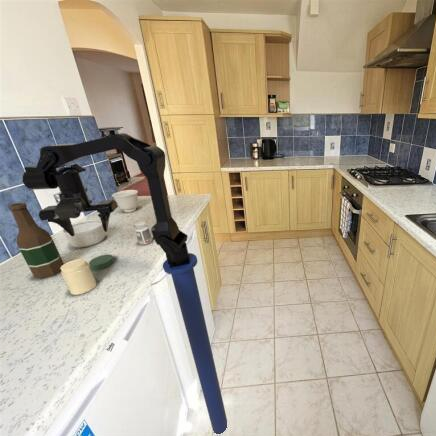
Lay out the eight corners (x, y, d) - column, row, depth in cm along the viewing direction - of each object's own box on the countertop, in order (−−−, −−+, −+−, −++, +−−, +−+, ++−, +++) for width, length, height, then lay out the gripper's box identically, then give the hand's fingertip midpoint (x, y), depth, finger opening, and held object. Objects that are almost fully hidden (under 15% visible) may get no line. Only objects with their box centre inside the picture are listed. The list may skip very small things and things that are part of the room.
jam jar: (99, 279, 77) (89, 256, 73) (93, 291, 71) (82, 267, 68) (74, 284, 74) (63, 261, 71) (67, 297, 69) (55, 272, 66)
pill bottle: (152, 238, 102) (147, 220, 98) (151, 243, 98) (146, 224, 94) (139, 240, 100) (133, 222, 96) (138, 245, 96) (132, 226, 93)
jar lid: (85, 270, 81) (84, 266, 80) (96, 259, 87) (95, 255, 86) (108, 267, 82) (107, 263, 82) (117, 257, 88) (116, 253, 88)
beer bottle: (38, 281, 76) (0, 210, 66) (31, 274, 80) (-7, 206, 70) (69, 269, 82) (38, 202, 72) (60, 262, 86) (30, 198, 76)
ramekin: (111, 240, 101) (106, 225, 98) (71, 253, 92) (63, 237, 89) (104, 231, 109) (99, 217, 106) (66, 242, 100) (59, 227, 98)
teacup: (138, 203, 143) (134, 187, 139) (145, 210, 133) (140, 192, 129) (114, 209, 136) (108, 192, 132) (119, 216, 125) (113, 198, 121)
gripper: (14, 199, 64) (40, 250, 70) (97, 191, 69) (114, 239, 75) (40, 188, 74) (60, 234, 80) (111, 182, 79) (125, 225, 85)
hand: (90, 233), depth 80 cm, fingers open, 9 cm apart
